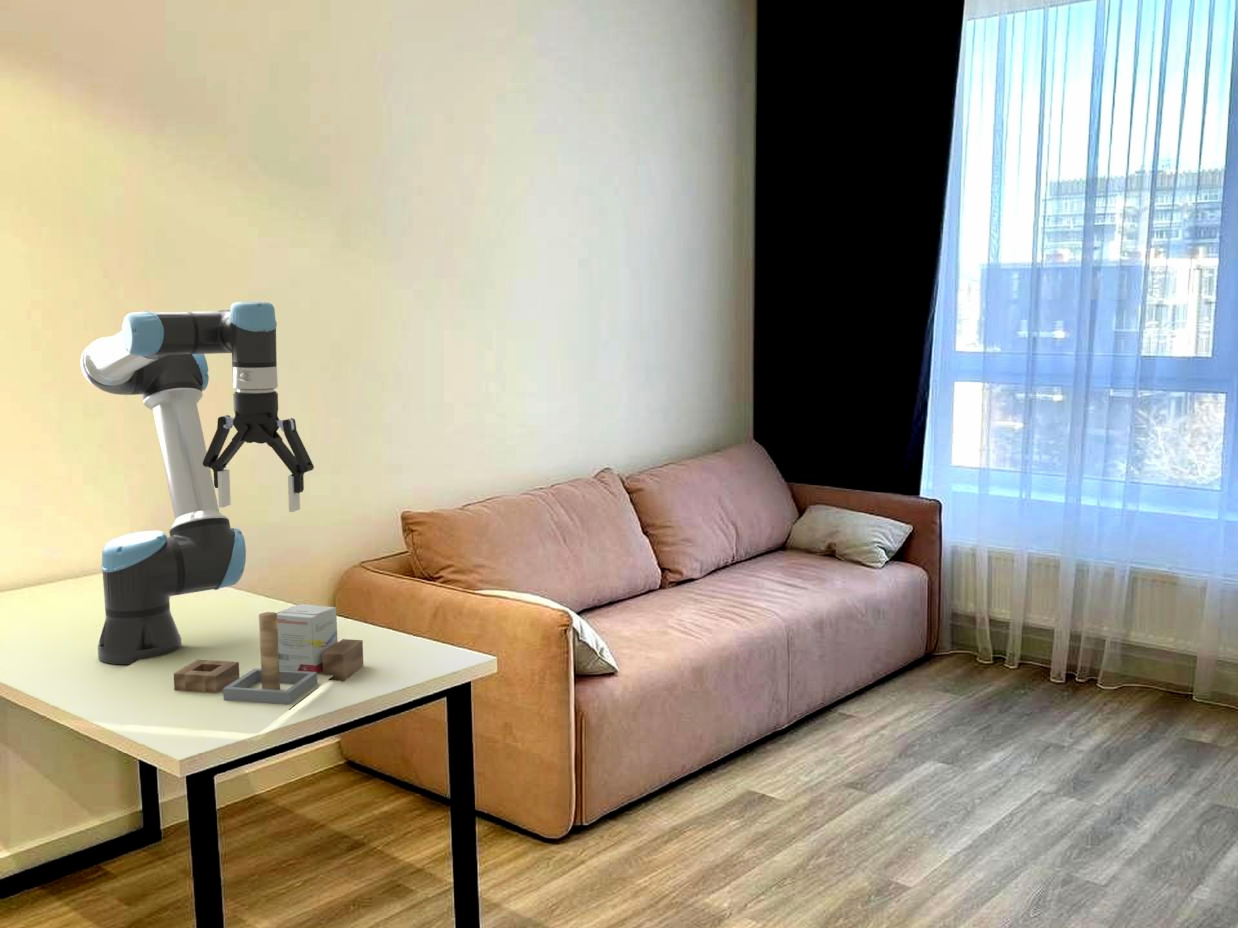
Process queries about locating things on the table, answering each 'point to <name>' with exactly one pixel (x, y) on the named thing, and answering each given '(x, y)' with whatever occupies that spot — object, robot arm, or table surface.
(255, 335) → the robot arm
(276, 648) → the dowel
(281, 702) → the tray
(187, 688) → the socket block
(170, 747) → the table surface
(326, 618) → the ink box
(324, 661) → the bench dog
